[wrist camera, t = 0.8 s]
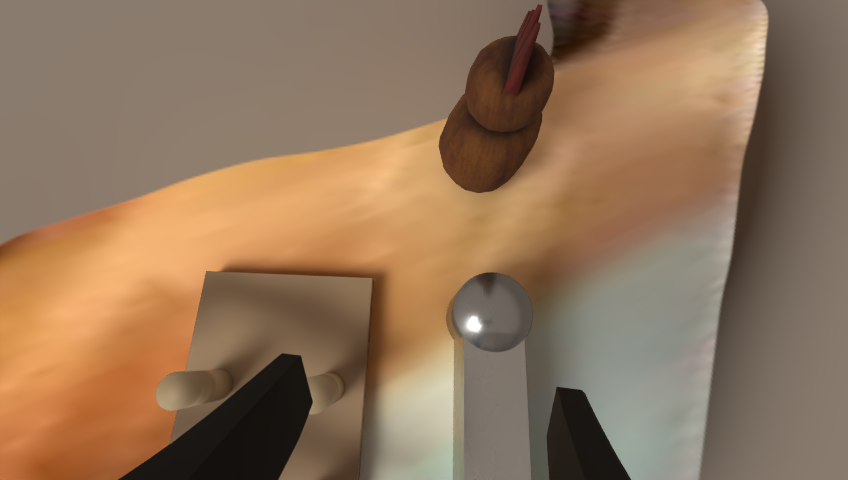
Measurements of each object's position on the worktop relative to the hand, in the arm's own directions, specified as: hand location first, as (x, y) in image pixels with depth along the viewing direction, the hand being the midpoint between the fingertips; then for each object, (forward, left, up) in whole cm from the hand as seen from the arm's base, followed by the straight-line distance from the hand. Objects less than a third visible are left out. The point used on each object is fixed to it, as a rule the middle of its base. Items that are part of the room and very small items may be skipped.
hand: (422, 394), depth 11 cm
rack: (-4, +9, -15) cm, 18 cm away
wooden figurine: (+16, -4, -15) cm, 22 cm away
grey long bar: (-3, -4, -15) cm, 16 cm away
